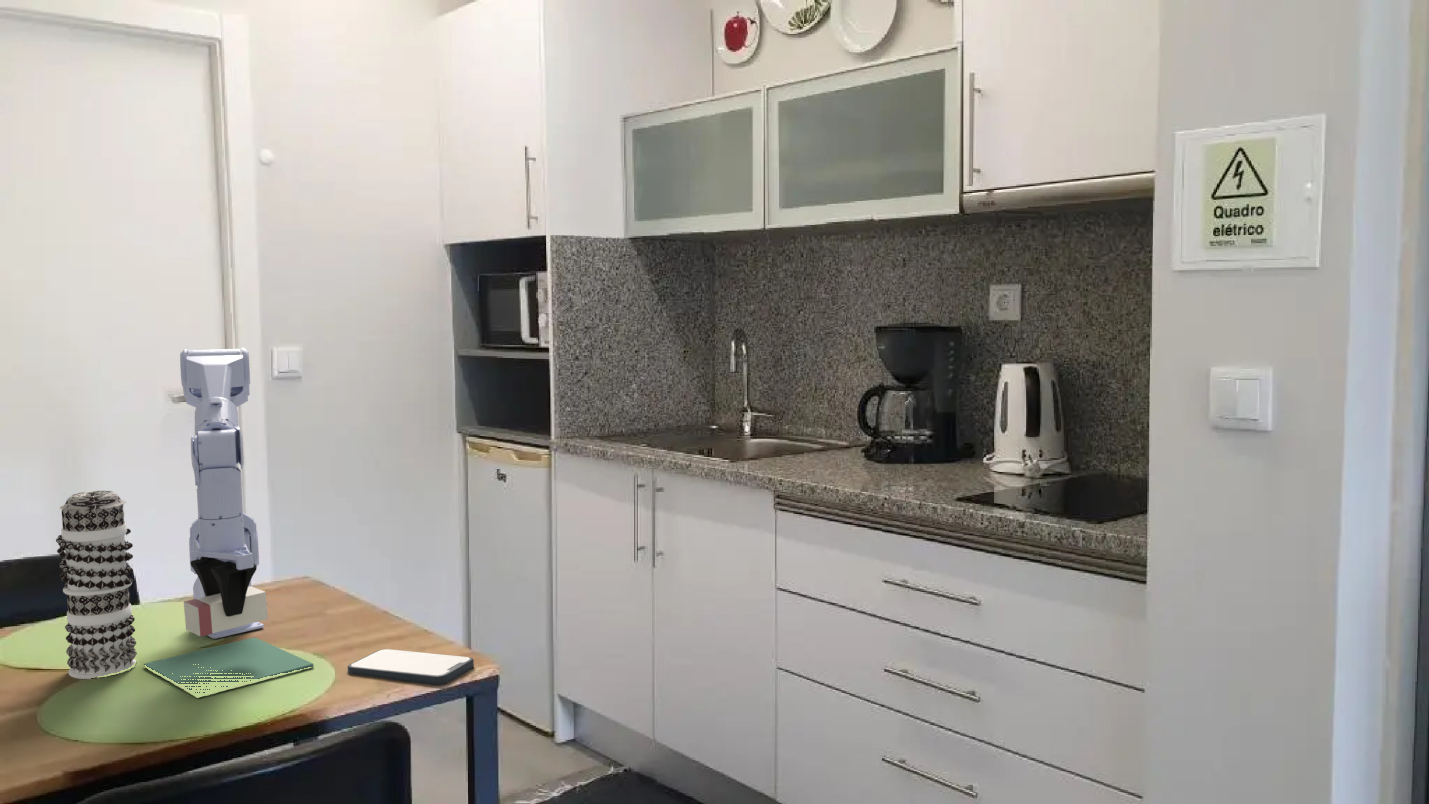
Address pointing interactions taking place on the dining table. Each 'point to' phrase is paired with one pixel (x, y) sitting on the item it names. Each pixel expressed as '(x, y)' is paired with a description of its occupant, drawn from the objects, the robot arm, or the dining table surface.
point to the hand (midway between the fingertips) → (225, 611)
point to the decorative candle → (96, 584)
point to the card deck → (223, 613)
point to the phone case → (412, 666)
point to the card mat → (229, 662)
